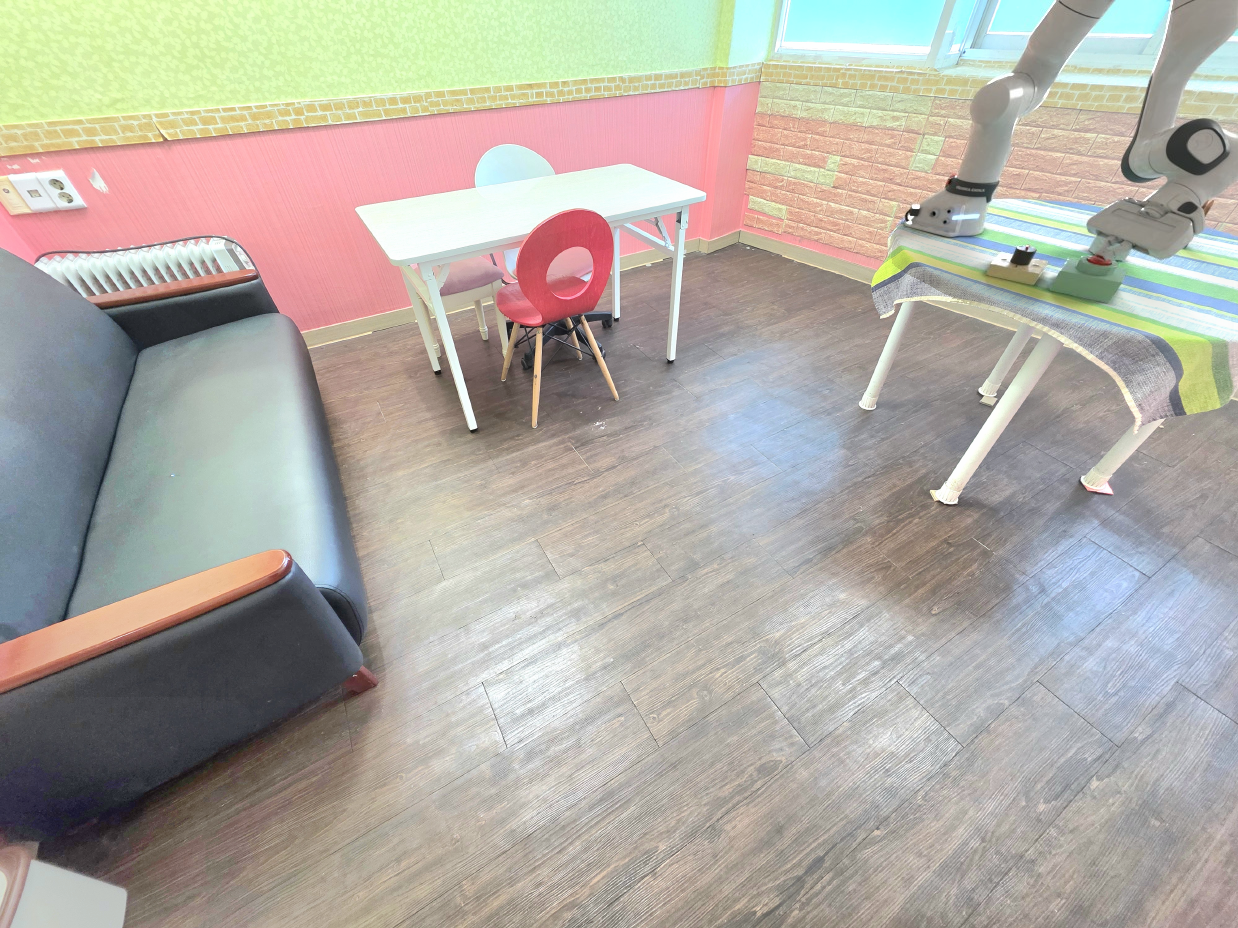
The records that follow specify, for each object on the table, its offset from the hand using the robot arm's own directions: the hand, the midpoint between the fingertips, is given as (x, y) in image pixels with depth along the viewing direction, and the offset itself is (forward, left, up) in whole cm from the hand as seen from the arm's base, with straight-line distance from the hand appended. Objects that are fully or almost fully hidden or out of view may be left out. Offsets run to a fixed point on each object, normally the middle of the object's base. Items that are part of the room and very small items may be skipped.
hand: (1100, 257), depth 117 cm
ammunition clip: (+13, +51, -8) cm, 53 cm away
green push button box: (0, +1, -8) cm, 8 cm away
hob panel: (-15, +2, -8) cm, 17 cm away
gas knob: (-15, +2, -5) cm, 16 cm away
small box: (+1, +29, -8) cm, 30 cm away
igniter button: (0, +1, -3) cm, 3 cm away
